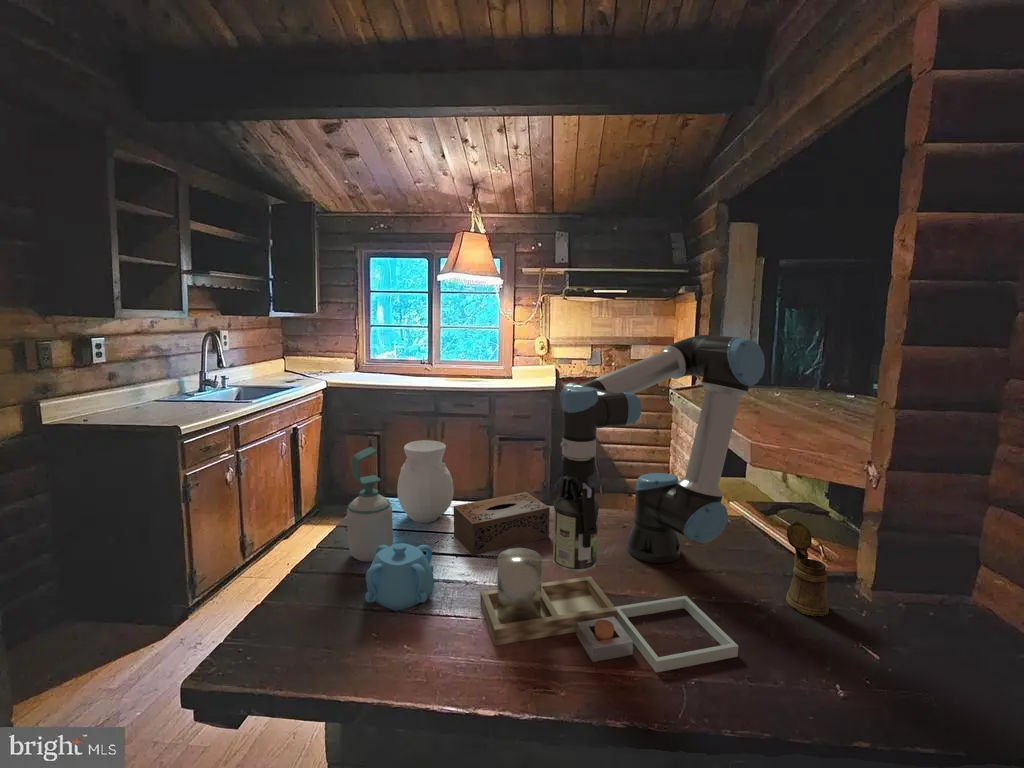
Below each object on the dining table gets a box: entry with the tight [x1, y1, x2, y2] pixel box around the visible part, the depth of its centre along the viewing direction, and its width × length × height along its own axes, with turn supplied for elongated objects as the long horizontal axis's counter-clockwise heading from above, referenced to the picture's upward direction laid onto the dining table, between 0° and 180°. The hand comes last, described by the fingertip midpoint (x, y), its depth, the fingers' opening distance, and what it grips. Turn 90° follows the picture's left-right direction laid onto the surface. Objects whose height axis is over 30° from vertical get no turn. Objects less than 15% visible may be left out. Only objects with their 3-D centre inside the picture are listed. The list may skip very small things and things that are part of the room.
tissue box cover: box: [453, 491, 551, 557], centre depth 163 cm, size 26×14×10 cm, turn 118°
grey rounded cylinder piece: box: [496, 547, 543, 624], centre depth 120 cm, size 10×10×14 cm
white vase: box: [396, 439, 455, 524], centre depth 175 cm, size 19×18×25 cm
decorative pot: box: [364, 542, 435, 612], centre depth 129 cm, size 16×16×14 cm
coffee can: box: [552, 497, 600, 573], centre depth 122 cm, size 10×10×14 cm
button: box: [594, 620, 614, 641], centre depth 113 cm, size 4×4×4 cm
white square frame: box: [614, 595, 739, 673], centre depth 116 cm, size 19×19×2 cm
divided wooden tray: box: [479, 575, 617, 646], centre depth 123 cm, size 28×15×4 cm, turn 105°
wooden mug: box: [785, 520, 830, 617], centre depth 129 cm, size 9×14×18 cm, turn 179°
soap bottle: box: [346, 446, 394, 563], centre depth 149 cm, size 12×12×31 cm
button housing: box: [575, 617, 634, 663], centre depth 113 cm, size 9×9×3 cm
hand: (575, 548), depth 123 cm, fingers closed on coffee can, 10 cm apart
